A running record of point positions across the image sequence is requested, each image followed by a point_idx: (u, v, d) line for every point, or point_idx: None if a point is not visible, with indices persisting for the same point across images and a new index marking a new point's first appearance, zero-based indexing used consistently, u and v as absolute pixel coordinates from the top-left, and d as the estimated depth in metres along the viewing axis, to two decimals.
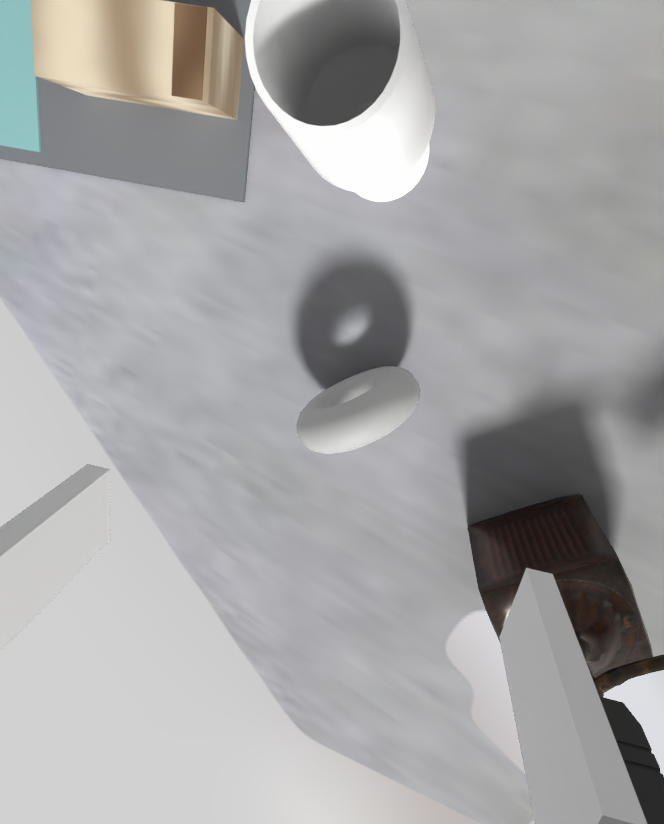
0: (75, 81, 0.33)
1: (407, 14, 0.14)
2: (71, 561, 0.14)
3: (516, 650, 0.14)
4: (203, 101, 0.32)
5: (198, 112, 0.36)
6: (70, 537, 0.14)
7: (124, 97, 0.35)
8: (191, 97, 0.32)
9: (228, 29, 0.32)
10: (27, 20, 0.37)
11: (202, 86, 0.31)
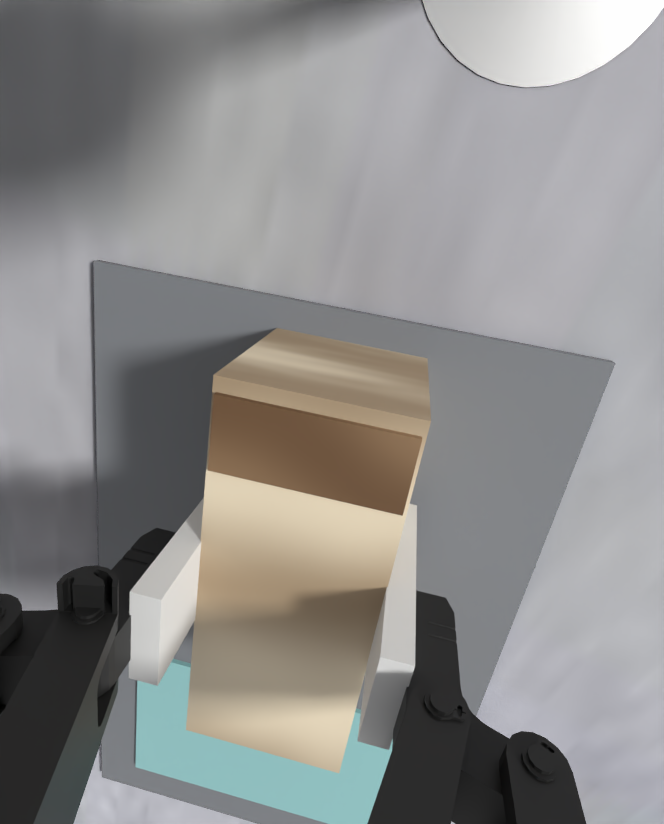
0: (354, 707, 0.14)
1: None
2: None
3: None
4: (424, 433, 0.11)
5: None
6: None
7: None
8: (413, 465, 0.11)
9: (260, 351, 0.14)
10: None
11: (387, 430, 0.11)
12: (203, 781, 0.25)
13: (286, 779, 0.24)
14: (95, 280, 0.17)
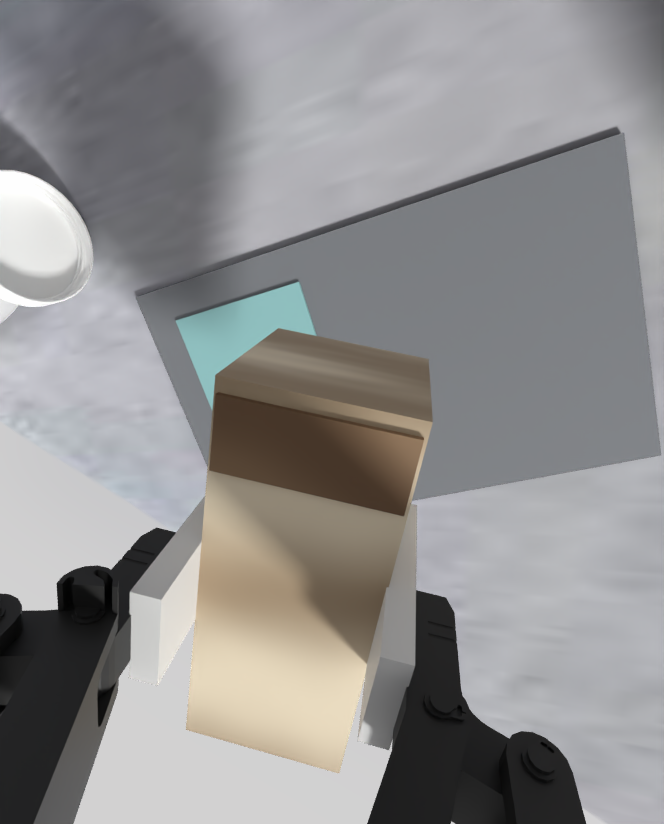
0: (354, 707, 0.14)
1: None
2: None
3: None
4: (426, 434, 0.11)
5: None
6: None
7: None
8: (415, 466, 0.11)
9: (261, 351, 0.14)
10: None
11: (389, 431, 0.11)
12: (204, 375, 0.31)
13: None
14: (609, 138, 0.23)
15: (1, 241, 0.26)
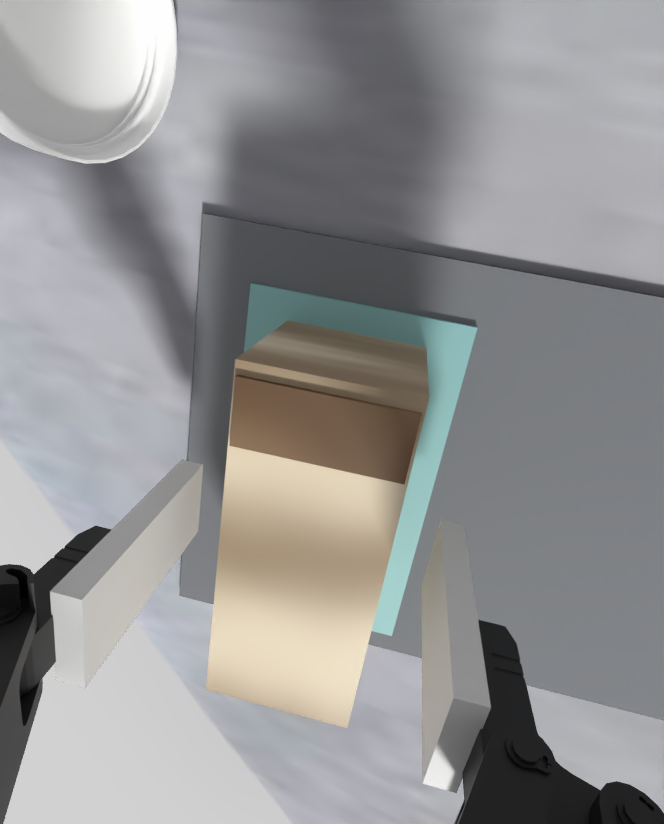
0: (361, 664, 0.16)
1: None
2: (173, 549, 0.16)
3: (428, 592, 0.15)
4: (423, 409, 0.12)
5: None
6: (175, 527, 0.15)
7: None
8: (413, 438, 0.13)
9: (274, 339, 0.15)
10: (429, 463, 0.19)
11: (390, 407, 0.12)
12: None
13: None
14: None
15: None
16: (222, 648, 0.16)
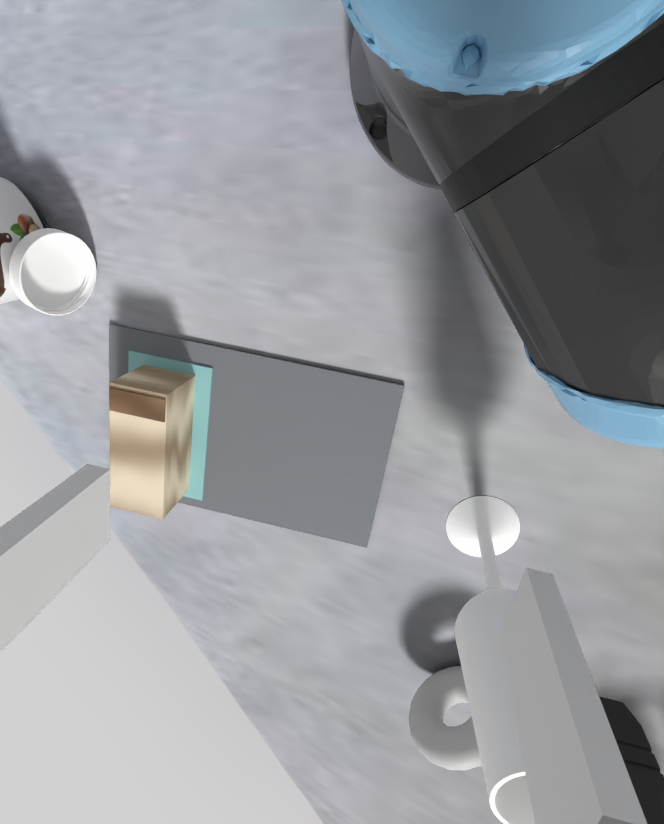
0: (163, 491, 0.44)
1: None
2: (71, 561, 0.14)
3: (516, 651, 0.14)
4: (166, 398, 0.40)
5: (191, 405, 0.46)
6: (70, 537, 0.14)
7: (181, 460, 0.46)
8: (164, 407, 0.40)
9: (129, 374, 0.43)
10: (204, 421, 0.47)
11: (156, 397, 0.40)
12: None
13: None
14: (396, 385, 0.43)
15: (39, 268, 0.40)
16: (114, 487, 0.44)
